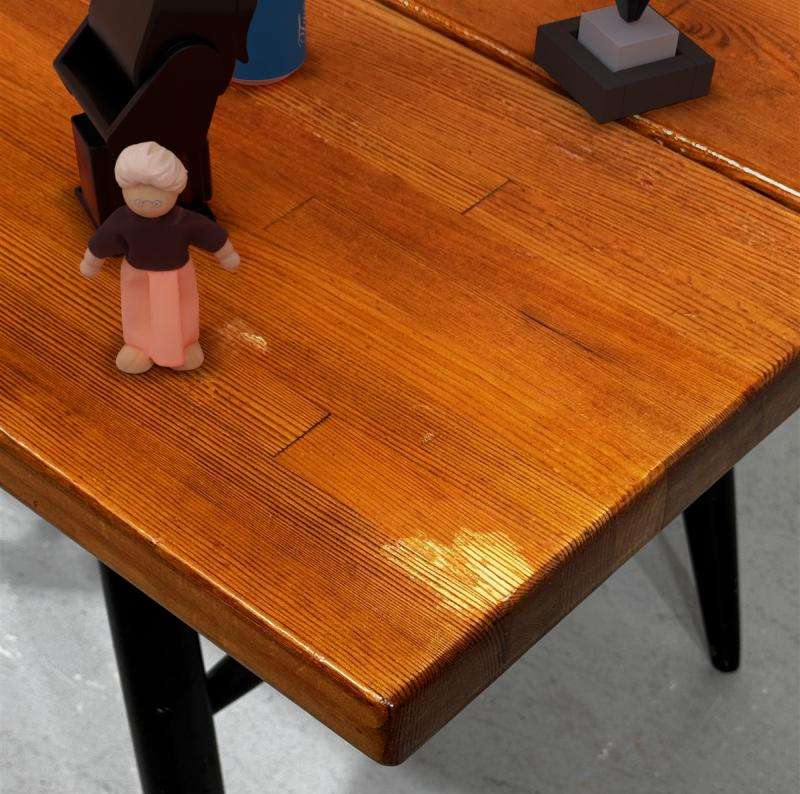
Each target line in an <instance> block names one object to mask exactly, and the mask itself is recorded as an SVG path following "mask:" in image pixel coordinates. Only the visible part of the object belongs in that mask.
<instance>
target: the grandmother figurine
mask: <svg viewBox="0 0 800 794" xmlns="http://www.w3.org/2000/svg"><path fill="white" fill-rule="evenodd" d="M187 173H188V171H187V170H186V169H185V168H184V166H183V164H182V163H181V161H180V160H179V159H178V158H177V157H176V156H175V155H174V154H173V153H172V152H171V151H169V150H167V149H165V148H164V147H161V146H160V145H158V144H157V143H156V142H146V143H140V144H136V145H132V146H129V147H127V148H125V149H124V150H123V151H122V153H121V154H120V156H119V157H118V159H117V162H116V166H115V177H116V181H117V182H118V184H119V186H120V187H122V191H123V196H124V199H125V202H126V203H127V205H124V206H122V207H120V208H118V209H116V210H115V211H114V212H113V213H112V214H111V215H110V216H109V217H108V219H107V220H106V221H105V222H104V223H103V224H102V225H101V226H100V227H99V229H98V230H97V231H96V232H95V231H94V234H93V235H92V236H91V237H90V238H89V239H88V243H87V248H86V250H85V252H84V254H83V255H84V257H83V259H82V260H81V262H80V263H79V272H80V273H81V275H83V277H85V278H88V279H94V278H96V277H98V276H99V275H100V273H101V271H102V266H103V265H104V264H105V262H106V259H107V258H109V257H111V256H117V255H116V254H120V255H122V254H121V253H123V258H122V261H121V264H120V274H119V275H120V279H119V281H120V285H119V287H120V288H119V289H120V306H121V307H120V308H121V324H122V334H123V335H122V336H123V341H124V345H123V346H122V348H121V349H120V350H119V352H118V354H117V355H116V358H115V365H116V367H117V368H118V370H119V371H121V372H123V373H127V374H137V375H138V374H142V373H145V372H147V371H149V370H150V369H151V368H152V367H153V366H154V364H156V365H158V366H159V367H166V368H170V369H172V370H173V371H179V372H180V371H181V372H182V371H192V370H195V369H198V368H200V366H202V365H203V363H204V362H205V355H204V352H203V349H202V347H201V345H200V341H199V339H200V300H199V299H200V298H199V297H200V296H199V290H198V281H197V275H196V274H197V273H196V268H195V264H194V261H193V258H192V256H191V253H190V252H189V247H190V246H193V247H195V248H197V249H200V250H202V251H204V252H207V253H210V254H212V255H213V256H214V257H215V258H216V259H218V263H219V265H220V267H221V268H222V269H223V270H224V271H225V270H226V271H227V272H228V271H229V272H232V271H236V270H237V269H238V268H239V267H240V265H241V257H240V254H239V253H238V252H237V251H236V250H234V247H233V244H232V243H231V241H230V239H229V231H228V230H227V229H226V228H224V227H223V226H221V225H220V224H218V223H217V224H216V223H215V222H213V221H212V220H210V219H209V218H207V217H205V216H204V215H201V214H199V213H196V212H193V211H190V210H187V209H184V208H182V207H180V206H178V205H175V202H176V200H177V197H178V194H179V193H181V192H182V190H183V189H184V188H185V186H186V183H187Z"/></svg>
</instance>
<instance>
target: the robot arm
mask: <svg viewBox="0 0 800 794" xmlns="http://www.w3.org/2000/svg"><path fill="white" fill-rule="evenodd" d="M257 1H258V0H89V4H88V9H87V10H88V12H87V14H86V15H85V17H84V19H82V21H81V23H80V24H79V25H78V26H77V28H76V29H75V30H74V32H73V33H72V34H71V36H70V37H69V39H68V40H67V42H66V43H65V44H64V46H62V48H61V49H60V51H59V52H58V54H57V55H56V56H55V58H54V59H53V61H52V64H51V65H52V68H53V69H54V71H55V72H56V74H57V76H58V77H59V79H60V81H61V82H62V85H63V86H64V88H65V89H66V90H67V92H68V93H69V95H70V96H72V97H73V98H74V99H75V100H76V102H77V104H78V105H79V106H80V108H81V110H82V111H83V112H82V113H78V114H74V115H72V116H71V117H70V124H71V130H72V135H73V136H72V137H73V142H74V143H73V144H74V150H75V155H76V160H77V162H76V163H77V169H78V174H79V175H78V176H79V183H80V184H79V185H78V186H76V187H75V188H74V189H73V193H74V198H75V200H76V202H77V204H78V206H79V207H80V209H81V210H82V212H83V214H84V216H85V217H86V219H87V221H88V223H89V224H90V226H91V228H92V229H93V231H94V233H95V232H96V231H97V230H98V229H99V227H100V226H101V225H102V224H103V223H104V222H105V221H106V220H107V219H108V217H109V216H110V215H111V214H112V213H113V212H114V211H115V210H116V209H118V208H120V207H122V206H124V205H127V203H126V202H125V199H124V196H123V191H122V187H120V186H119V184H118V182H117V181H116V177H115V166H116V162H117V159H118V157H119V156H120V154H121V153H122V151H123V150H124V149H125V148H127V147H129V146H132V145H136V144H140V143H146V142H156V143H157V144H158V145H160V146H161V147H164V148H165V149H167V150H169V151H171V152H172V153H173V154H174V155H175V156H176V157H177V158H178V159H179V160H180V161H181V163H182V164H183V166H184V168H185V169H186V170H187V171H188V173H187V183H186V186H185V188H184V189H183V190H182V192H181V193H179V194H178V197H177V200H176V202H175V205H178V206H180V207H182V208H184V209H187V210H190V211H193V212H196V213H199V214H201V215H204V216H205V217H207V218H209V219H210V220H212V221H213V222H215V223H216V224H218V221H217V219H218V218H217V216H216V214H215V213H214V211H213V210H212V208H211V207H210V205H209V204H208V203H207V202H209V201H211V200H212V199H213V197H214V190H213V177H212V165H211V152H210V140H209V138H208V133H209V130H210V127H211V123H212V120H213V116H214V113H215V109H216V106H217V103H218V99H219V97H221V96H223V95H224V94H225V93H226V92H227V90H228V88H229V87H230V86H231V83H232V82H233V81H232V78H233V75H234V72H235V69H236V62H237V60H239V61H240V62H242V63H243V64H246V63H248V61H249V57H248V52H247V47H246V46H247V34H248V30H249V27H250V23H251V21H252V18H253V15H254V13H255V10H256V7H257ZM650 1H651V0H614V2H615V5H616V6H617V9H618V12H619V15H620V17H621V18H622V19H623V20H625V21H626V22H627V23H630V22H633V21H638V20H639V19H640V17H641V16H642V14H643V12H644V10H645V9H646V7H647V5H648V4H649V3H650ZM120 255H124V253H121V254H116V255H115V256H120Z"/></svg>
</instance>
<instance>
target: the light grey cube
mask: <svg viewBox="0 0 800 794" xmlns="http://www.w3.org/2000/svg"><path fill="white" fill-rule="evenodd" d="M580 15H581V20H580V28H579V35H578V41H579V42H580V43H581V44H582V45H583V46H584V47H585V48H586V49H588V50H589V51H590V52H591V53H592V54H593V55H594V56H595V57H596V58H597V59H599V60H600V61H601V62H602V63H603V64H604V65H605V66H606V67H607V68H608V69H610V70H611V71H612V72H613V73H614V72H616V71H620V70H624V69H628V68H632V67H636V66H639V65H643V64H647V63H651V62H655V61H659V60H662V59H666V58H670V57H674V56H675V52H676V47H677V42H678V36H679V31H678V30H677V29H676V28H674V27H673V26H672V25H671V24H670V23H668V22H667V21H666V20H665V19H664V18H662V17H661V16H660V15H659V14H658V13H656V12H655V11H654V10H653V9H652V8H651V7H649V6H648V5H647V7H646V9H645V10H644V12H643V14H642V16H641V17H640V19H639V20H638V21H633V22H630V23H627V22H626V21H625V20H623V19H622V18H621V17H620V15H619V12H618V9H617V6H616V4H613V5H609V6H605V7H601V8H596V9H593V10H588V11H585V12H581V14H580Z"/></svg>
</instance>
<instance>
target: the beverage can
mask: <svg viewBox="0 0 800 794" xmlns="http://www.w3.org/2000/svg"><path fill="white" fill-rule="evenodd" d="M306 18H307V17H306V0H258V1H257V7H256V10H255V13H254V15H253V18H252V21H251V23H250V27H249V30H248V34H247V46H246V47H247V52H248V57H249V61H248V63H246V64H243V63H242V62H240V61H239V60H237V62H236V69H235V72H234V75H233V78H232V81H231V82H232V83H237V84H240V85H244V86H245V85H246V86H266V85H272V84H275V83H278V82H281V81H283V80H285V79H286V78H288V77H289V76H290V75H291V74H293V73H295V72H296V71H298V70H299V68H301V67H302V65H303V64H304V63H305V61H306V58H307V30H306V29H307V27H306V25H307V24H306Z"/></svg>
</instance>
